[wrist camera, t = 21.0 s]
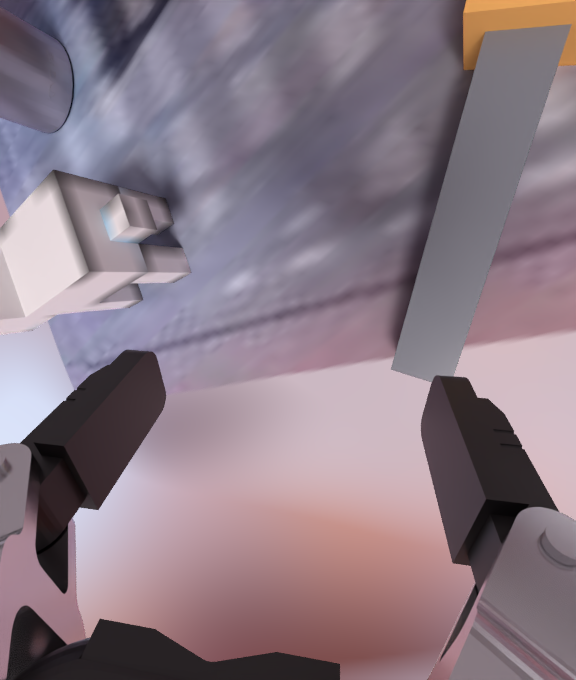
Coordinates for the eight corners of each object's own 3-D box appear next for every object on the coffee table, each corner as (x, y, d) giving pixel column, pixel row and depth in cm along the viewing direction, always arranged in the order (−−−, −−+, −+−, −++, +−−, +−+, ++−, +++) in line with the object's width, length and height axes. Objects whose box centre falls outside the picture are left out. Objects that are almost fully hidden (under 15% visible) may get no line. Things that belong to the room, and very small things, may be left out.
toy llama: (209, 262, 31) (-122, 244, 13) (104, 321, 39) (-183, 357, 22) (182, 185, 31) (-186, 66, 13) (82, 261, 39) (-221, 249, 22)
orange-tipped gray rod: (386, 353, 25) (369, 370, 20) (498, -58, 18) (508, -162, 14) (467, 377, 23) (467, 401, 18) (627, -81, 16) (687, -214, 12)
